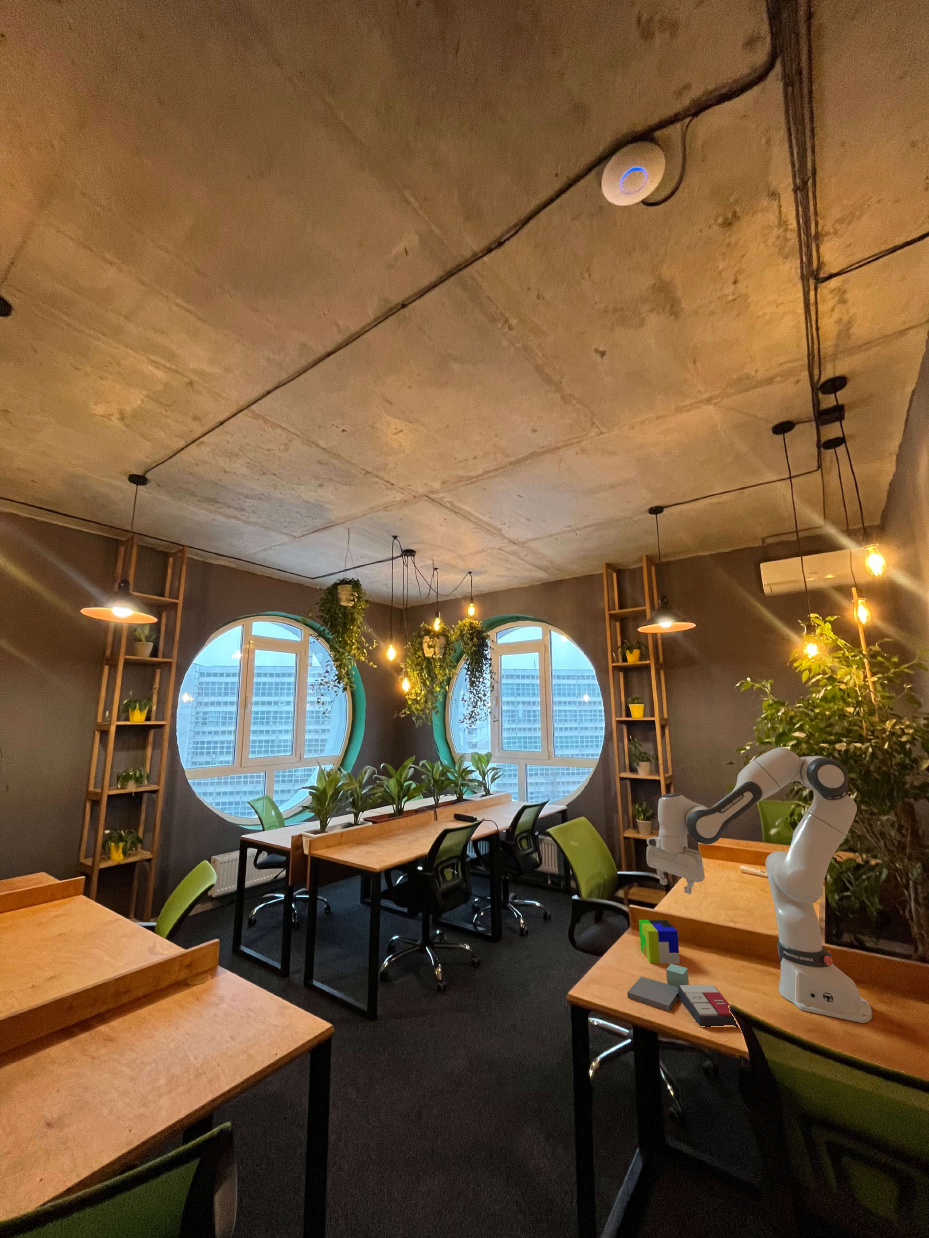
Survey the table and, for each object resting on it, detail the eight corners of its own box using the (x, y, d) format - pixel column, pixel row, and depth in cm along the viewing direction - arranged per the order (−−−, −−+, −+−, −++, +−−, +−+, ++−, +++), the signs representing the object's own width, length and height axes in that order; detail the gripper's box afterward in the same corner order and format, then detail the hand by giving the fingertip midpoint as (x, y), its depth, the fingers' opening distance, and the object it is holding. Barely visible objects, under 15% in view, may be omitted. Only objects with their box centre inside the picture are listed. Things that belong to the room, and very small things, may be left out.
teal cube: (689, 985, 158) (687, 968, 159) (684, 992, 154) (683, 974, 155) (672, 980, 161) (671, 963, 162) (667, 987, 157) (666, 969, 158)
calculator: (699, 1013, 137) (677, 982, 152) (700, 1031, 136) (678, 998, 151) (740, 1014, 137) (714, 982, 151) (741, 1031, 136) (715, 998, 151)
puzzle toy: (679, 963, 172) (677, 931, 174) (650, 963, 172) (648, 931, 174) (668, 950, 182) (666, 920, 184) (640, 950, 182) (638, 919, 184)
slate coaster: (681, 993, 153) (680, 988, 153) (669, 1011, 144) (668, 1005, 144) (641, 981, 160) (641, 976, 161) (627, 997, 151) (627, 991, 151)
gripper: (707, 850, 162) (710, 897, 159) (655, 836, 179) (657, 878, 177) (694, 852, 159) (697, 900, 156) (642, 838, 176) (644, 881, 174)
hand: (675, 888), depth 167 cm, fingers open, 8 cm apart
